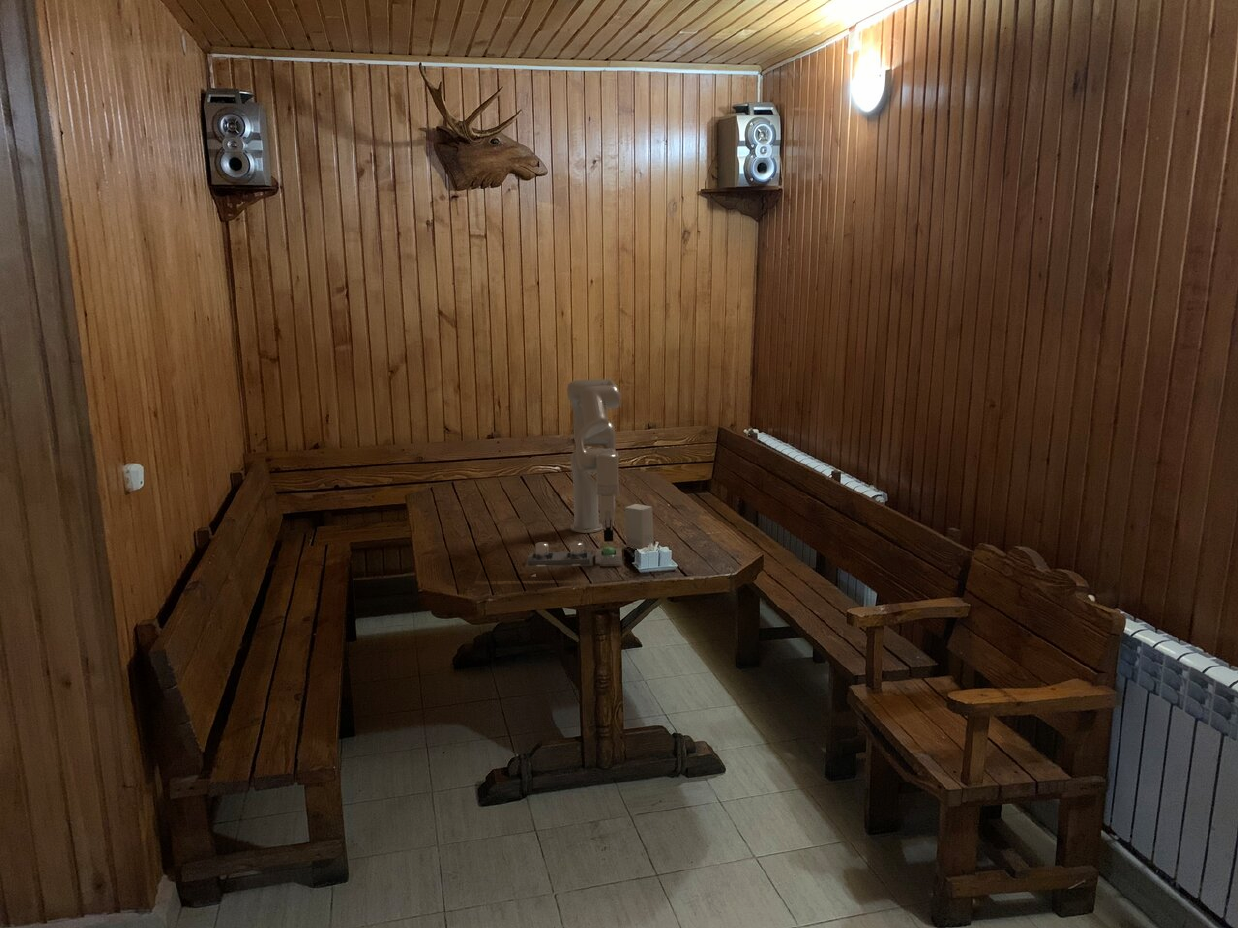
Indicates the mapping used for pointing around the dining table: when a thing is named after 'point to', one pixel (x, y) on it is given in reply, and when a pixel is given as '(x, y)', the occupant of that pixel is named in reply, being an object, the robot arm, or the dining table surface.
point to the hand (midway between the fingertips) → (608, 540)
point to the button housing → (609, 558)
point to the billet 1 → (542, 550)
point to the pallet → (559, 560)
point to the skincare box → (638, 525)
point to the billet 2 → (577, 550)
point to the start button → (608, 551)
